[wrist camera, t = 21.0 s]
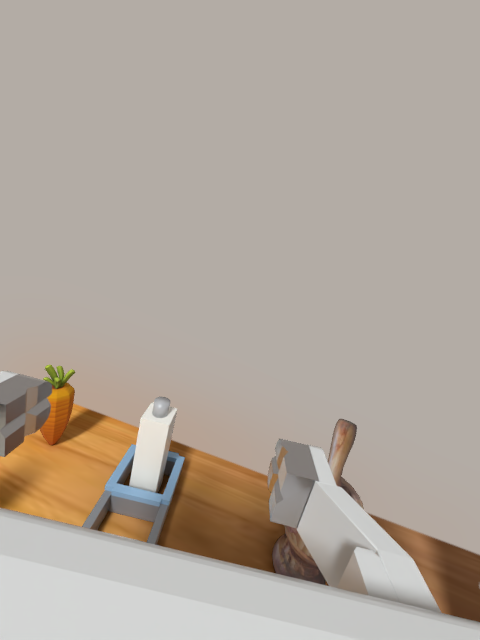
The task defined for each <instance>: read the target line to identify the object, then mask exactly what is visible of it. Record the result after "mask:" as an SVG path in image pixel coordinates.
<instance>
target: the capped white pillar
mask: <svg viewBox="0 0 480 640" xmlns="http://www.w3.org/2000/svg"><path fill="white" fill-rule="evenodd" d="M169 406H170V400H169V399H168V398H166V397H158V398H156V399H155V401H154V403H151V404H150V406H149V407H148V409H147V410H146V412H145V413H144V414H143V416H142V417H141V420H140V426H139V432H138V438H137V444H136V449H135V455H134V461H133V467H132V472H131V478H130V484H129V486H130V487H134V488H138V489H142V490H146V491H150V492H154V493H158V491H159V489H160V486H161V484H162V480H163V476H164V471H165V466H166V461H167V456H168V452H169V447H170V442H171V437H172V433H173V428H174V423H175V418H176V414H177V408H172V407H169Z"/></svg>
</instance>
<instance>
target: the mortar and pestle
mask: <svg viewBox="0 0 480 640" xmlns="http://www.w3.org/2000/svg"><path fill="white" fill-rule="evenodd" d="M356 429H357V427H356V425H355V424H353V423H351V422H349V421H347V420H344V419H339V420H338V422H337V424H336V426H335V429H334V433H333V438H332V443H331V448H330V454H329V459H328V464H329V467H330V469H331V472H332V475H333V477H334V480H335V482H336V485H337V486H338V487H342V488H343V489H344V490H345V491H346V492H347V493H348V494H349V495H350V496H351V497H352V498H353V499H354V500H355V501H356V502H357V503H358V504H359V505H360V506H361V507H362V508H363V503H362V501H361V500H360V497H359V495H358V494H357V493H356V491H355V490H354V488H353V487H352V486H351V485H350V484H349V483H348V482H346V481H345V479H343V478H342V477H341V475H342V471H343V467H344V464H345V462H346V459H347V457H348V454H349V452H350V450H351V448H352V445H353V443H354V440H355V436H356ZM363 509H364V508H363ZM284 526H285V533H286V534H284V535H282V536H281V537H280V538H279V539H278V540H277V542H276V543H275V545H274V548H273V553H272V558H273V565H274V568H275V571H276V574H280V575H285V576H289V577H293V578H297V579H301V580H305V581H310V582H314V583H318V584H322V585H325V581H326V580H325V578H324V576H323V575H322V573H321V571H320V570H319V568H318V566H317V564H316V563H315V561H314V559H313V557H312V556H311V554H310V552H309V550H308V549H307V547H306V545H305V544H304V542H303V540H302V538H301V537H300V535H299V533H298V531H297V528H293V527H290V526H286V525H284Z"/></svg>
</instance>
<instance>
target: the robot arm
mask: <svg viewBox="0 0 480 640" xmlns="http://www.w3.org/2000/svg"><path fill="white" fill-rule="evenodd" d="M51 394H52V384H51V383H50V382H48V381H43V380H40V379H36V378H32V377H29V376H25V375H20V374H17V373H13V372H9V371H2V372H0V456H2V457H5V456H6V455H8V454H9V453H10V452H11V451H13V450H14V449H15V448H16V447H18V446H19V445H20V444H21V443H23V442H24V437H25V436H26V435H29V434H32V433H35V432H36V431H37V430H39V429H40V428H41V427H42V426H43V425H44V423H45V422H46V420H47V419H48V417H49V414H50V410H51V404H50V402H49V401H48V399H47V398H48V397H49V396H50V395H51ZM275 451H276V456H275V457H274V458H272V460H271V463H270V467H269V472H268V490H269V491H270V493H271V496H270V499H269V511H270V521H272V522H275V523H279V524H282V525H286V526H290V527H293V528H297V531H298V533H299V535H300V537H301V538H302V540H303V542H304V544H305V545H306V547H307V549H308V550H309V552H310V554H311V556H312V557H313V559H314V561H315V563H316V564H317V566H318V568H319V570H320V571H321V573H322V575H323V576H324V578H325V580H326V582H327V583H328V585H329V586H326V585H322V584H318V583H314V582H310V581H305V580H301V579H297V578H293V577H289V576H285V575H280V574H276V573H272V572H268V571H263V570H259V569H255V568H251V567H247V566H242V565H238V564H234V563H230V562H226V561H221V560H217V559H213V558H209V557H205V556H201V555H197V554H192V553H188V552H184V551H180V550H176V549H172V548H167V547H163V546H159V545H155V544H151V543H147V542H143V541H138V540H134V539H130V538H126V537H122V536H118V535H113V534H109V533H105V532H101V531H97V530H92V529H88V528H84V527H80V526H76V525H72V524H67V523H63V522H59V521H55V520H51V519H46V518H42V517H38V516H34V515H30V514H25V513H21V512H17V511H13V510H9V509H5V508H0V640H480V622H477V621H473V620H468V619H464V618H460V617H456V616H452V615H448V614H443V613H441V611H440V609H439V607H438V605H437V603H436V601H435V600H434V598H433V596H432V594H431V592H430V590H429V588H428V586H427V585H426V583H425V581H424V579H423V577H422V575H421V573H420V571H419V570H418V568H417V566H416V564H415V562H414V560H413V559H412V558H411V557H410V556H409V555H408V554H407V553H406V552H405V551H404V550H403V549H402V548H401V547H400V546H399V545H398V544H397V543H396V542H395V541H394V540H393V539H392V538H391V537H390V536H389V535H388V534H387V533H386V532H385V531H384V530H383V529H382V528H381V527H380V526H379V525H378V524H377V523H376V522H375V521H374V520H373V519H372V518H371V517H370V516H369V515H368V513H367V512H366V511H365V510H364V509H363V508H362V507H361V506H360V505H359V504H358V503H357V502H356V501H355V500H354V499H353V498H352V497H351V496H350V495H349V494H348V493H347V492H346V491H345V490H344V489H343V488H342V487H338V486H337V485H336V482H335V480H334V477H333V475H332V472H331V469H330V467H329V464H328V461H327V459H326V456H325V453H324V451H323V449H322V448H320V447H316V446H311V445H304V444H300V443H296V442H291V441H287V440H283V439H279V440H278V442H277V445H276V448H275Z"/></svg>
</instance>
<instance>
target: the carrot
mask: <svg viewBox="0 0 480 640" xmlns="http://www.w3.org/2000/svg"><path fill="white" fill-rule="evenodd" d="M45 369H46V371H47V372H48V374H49V375H50V377H51V378H52V380H53V381H52V380H51V379H50V378H48V377H45V378H44V380H45V381H48V382H50V383H51V384H52V394H51V395H50V396H49V397H48V398H47V399H48V401H49V402H50V404H51V410H50V414H49V417H48V419H47V420H46V422H45V423H44V425H43V426H42V427H41V428H40V431H41V433H42V435H43V437H44V438H45V440H46V441H47V442H48V443H49V445H54V444H55V443H56V442H57V441H58V440H59V438H60V437H61V435H62V434H63V432H64V430H65V428H66V426H67V424H68V421H69V418H70V415H71V412H72V407H73V401H74V393H75V391H74V388H73V387H72V386H70V384H69V383H66V382H67V381H68V379H69V378H70V377H71V376H72V375H73V374H74V373H75V371H74V370H70V371H69V372H68V373H67V374H66V375H65V377H64V371H63V368H62V366H58V367H57V371H58V374H59V378H58V376H57V373H56V372H55V370H54V368H53V367H52V365H47V366H46V367H45Z"/></svg>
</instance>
